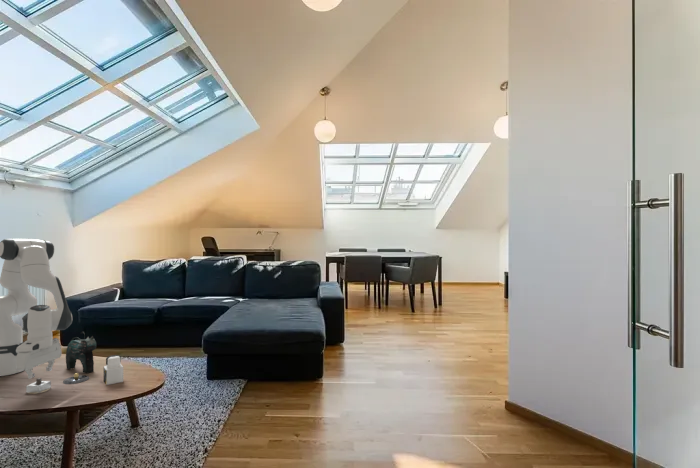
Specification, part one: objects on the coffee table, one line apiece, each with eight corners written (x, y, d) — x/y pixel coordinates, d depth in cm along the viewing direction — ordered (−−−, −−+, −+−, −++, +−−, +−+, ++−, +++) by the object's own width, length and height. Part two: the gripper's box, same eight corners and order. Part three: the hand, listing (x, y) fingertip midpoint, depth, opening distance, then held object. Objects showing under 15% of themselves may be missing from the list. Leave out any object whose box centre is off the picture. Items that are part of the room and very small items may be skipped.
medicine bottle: (103, 381, 190) (103, 355, 190) (120, 377, 194) (120, 353, 194) (106, 385, 184) (106, 359, 184) (123, 381, 189) (123, 356, 189)
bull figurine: (97, 371, 204) (97, 332, 204) (84, 375, 198) (84, 334, 198) (74, 366, 212) (74, 328, 213) (61, 369, 207) (61, 330, 207)
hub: (57, 385, 184) (57, 377, 184) (74, 378, 194) (74, 369, 194) (78, 386, 183) (78, 377, 183) (93, 378, 193) (93, 370, 193)
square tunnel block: (26, 392, 173) (26, 385, 173) (38, 387, 179) (38, 380, 179) (39, 393, 173) (39, 386, 173) (50, 387, 179) (50, 381, 179)
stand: (22, 395, 172) (22, 381, 172) (38, 388, 180) (38, 375, 180) (39, 396, 172) (39, 382, 172) (54, 389, 180) (54, 375, 180)
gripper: (52, 337, 187) (52, 366, 187) (12, 348, 166) (13, 382, 166) (65, 336, 187) (65, 366, 186) (27, 348, 166) (27, 382, 166)
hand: (40, 374), depth 176 cm, fingers open, 8 cm apart
